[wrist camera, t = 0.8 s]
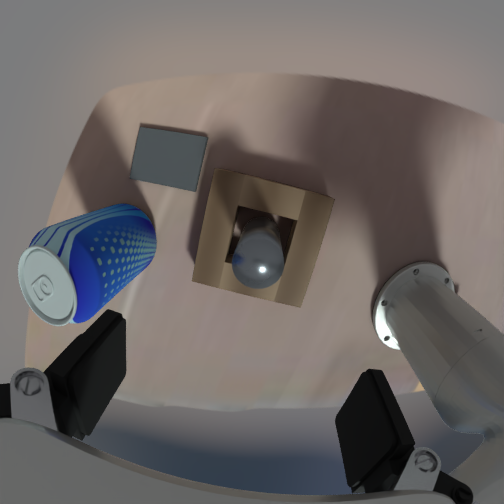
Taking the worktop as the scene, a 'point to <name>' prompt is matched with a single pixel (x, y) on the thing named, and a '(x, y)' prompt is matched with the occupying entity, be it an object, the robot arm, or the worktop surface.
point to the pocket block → (271, 201)
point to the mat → (168, 158)
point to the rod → (258, 254)
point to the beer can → (85, 262)
